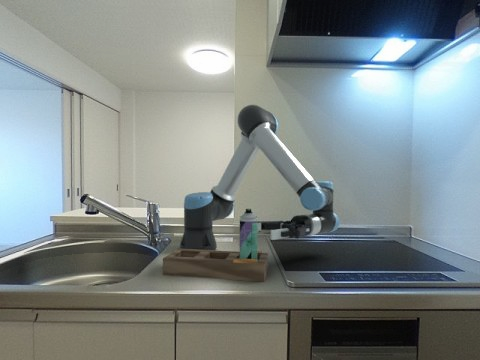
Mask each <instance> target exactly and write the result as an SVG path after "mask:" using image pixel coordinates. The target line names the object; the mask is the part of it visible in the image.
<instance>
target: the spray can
mask: <svg viewBox="0 0 480 360" xmlns="http://www.w3.org/2000/svg"><path fill="white" fill-rule="evenodd" d="M257 221H258V216H256V215H255V214H254V213H253V211H252V208H245V211H244V213H243V214H242V215H241V216H239V252H240V259H257V251H258V231H257Z"/></svg>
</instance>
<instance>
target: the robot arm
mask: <svg viewBox="0 0 480 360" xmlns="http://www.w3.org/2000/svg"><path fill="white" fill-rule="evenodd" d="M237 125H238V128H239V129H240V131H241V132H240V136H241V140H240V142H239V144H238V146H237V147H236V150H235V151H234V153H233V155H232V157H231V159H230V161H229V163H228V164H227V167H226V169H224V172H223V174H222V176H221V178H220V180H219V181H218V184H216V185H215V186H214V185H213V186H212V187H211V189H210V192H208V191H203V192H200V191H199V192H193V193H189V194H186V195H185V196H184V201H183V202H184V203H183V211H184V212H183V218H184V219H183V221H184V222H183V224H184V225H183V226H184V227H183V228H184V229H183V234H182V237H181V240H180V244H179V249H197V250H215V249H216V248H218V247H217V246H218V245H217V240H216V237H215V234H214V230H213V222H215V221H219V220H225V219H226V218H228V217H230V216H231V214H232V213H233V211H234V208H235V204H234V202H235V201H236V196H235V193H236V192H237V190H238V188H239V186H240V184H241V183H242V180H243V179H244V178H245V176H246V173H247V172H248V170H249V168H250V166H251V165H252V163H253V161H254V159H255V157H256V155H257V154H258V152H259V150H260V151H261V152H262V153H263V154H264V156H265V157H266V158H267V159H268V160H269V162H270V163H271V164H272V166H274V168H275V169H276V170H277V172H278V173H279V174H280V175H281V177H282V178H283V179H284V180H285V181H286V183H287V184H288V185H289V186H290V188H292V189H293V191H294V192H295V193H296V195H297V196H298V198H299V199H300V203H301V206H302V207H303V208H304V209H306V210H308V211H312V213H307V214H298V215H294V216H293V217H292V218H291V220H273V221H270V220H269V221H268V220H267V221H266V220H265V221H259V220H257V232H259V233H260V232H262V230H263V231H270V241H276V240H281V239H288V238H291V239H292V238H294V237H295V239H300V238H302V237H303V238H304V237H307V236H308V237H312V236H314V235H321V234H329V233H331V232H334V231H337V230H338V228H339V226H340V219H339V216H338V215H337V214H336V213H335V212H334V184H333V182H332V181H316V180H314V178H313V177H312V176H311V175H310V173H309V172H308V171H307V170H306V169H305V167H304V166H303V165H302V164H301V163H300V162H299V160H297V157H295V156H294V155H293V153H291V151H290V150H289V149H288V147H286V145H285V143H283V142H282V141H281V139H279V137H278V136H277V135H276V134H277V133H278V129H279V123H278V120H277V117H276V116H275V115H274V114H273V113H272V112H270V111H268V110H266V109H265V108H263V107H261V106H259V105H257V104H248V105H246V106H244V107H243V108H242V109H241V110H240V111H239V113H238V115H237ZM216 250H217V249H216Z"/></svg>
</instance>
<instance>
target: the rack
mask: <svg viewBox="0 0 480 360" xmlns="http://www.w3.org/2000/svg"><path fill="white" fill-rule="evenodd" d="M268 269H269V253H268V252H263V251H262V250H257V259H240V251H235V250H217V249H216V250H197V249H180V248H177V249H176V250H174V251H172V252H171V253H169V254H167V255H165V256H164V257H163V258H162V275H164V276H176V277H178V276H179V277H189V278H190V277H191V278H203V279H205V278H207V279H221V280H233V281H245V282H246V281H247V282H249V281H250V282H262V283H263V282H265V280H266V277H267V273H268Z"/></svg>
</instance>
